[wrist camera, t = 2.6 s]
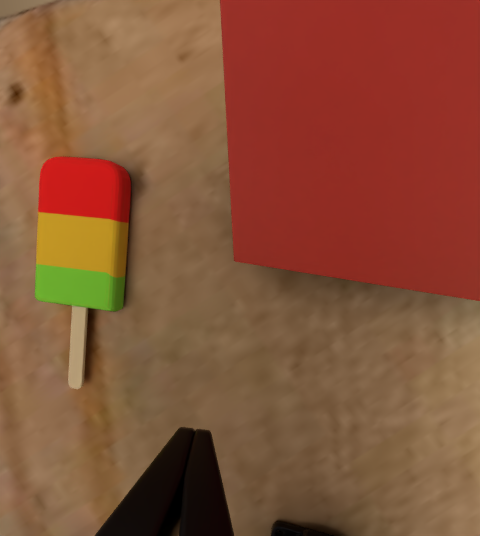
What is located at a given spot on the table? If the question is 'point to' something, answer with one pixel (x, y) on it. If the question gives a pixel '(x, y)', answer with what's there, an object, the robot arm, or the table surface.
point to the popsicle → (82, 243)
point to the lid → (356, 139)
